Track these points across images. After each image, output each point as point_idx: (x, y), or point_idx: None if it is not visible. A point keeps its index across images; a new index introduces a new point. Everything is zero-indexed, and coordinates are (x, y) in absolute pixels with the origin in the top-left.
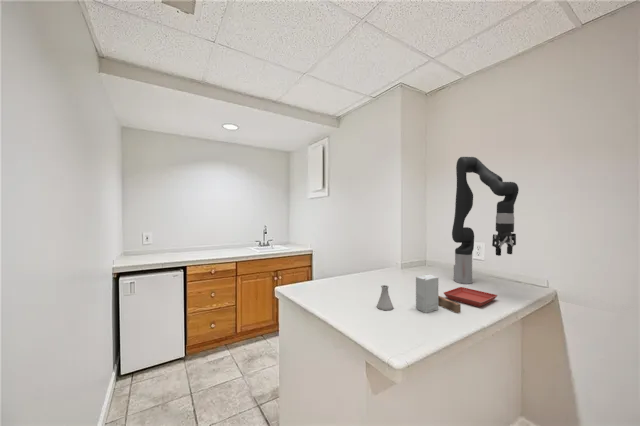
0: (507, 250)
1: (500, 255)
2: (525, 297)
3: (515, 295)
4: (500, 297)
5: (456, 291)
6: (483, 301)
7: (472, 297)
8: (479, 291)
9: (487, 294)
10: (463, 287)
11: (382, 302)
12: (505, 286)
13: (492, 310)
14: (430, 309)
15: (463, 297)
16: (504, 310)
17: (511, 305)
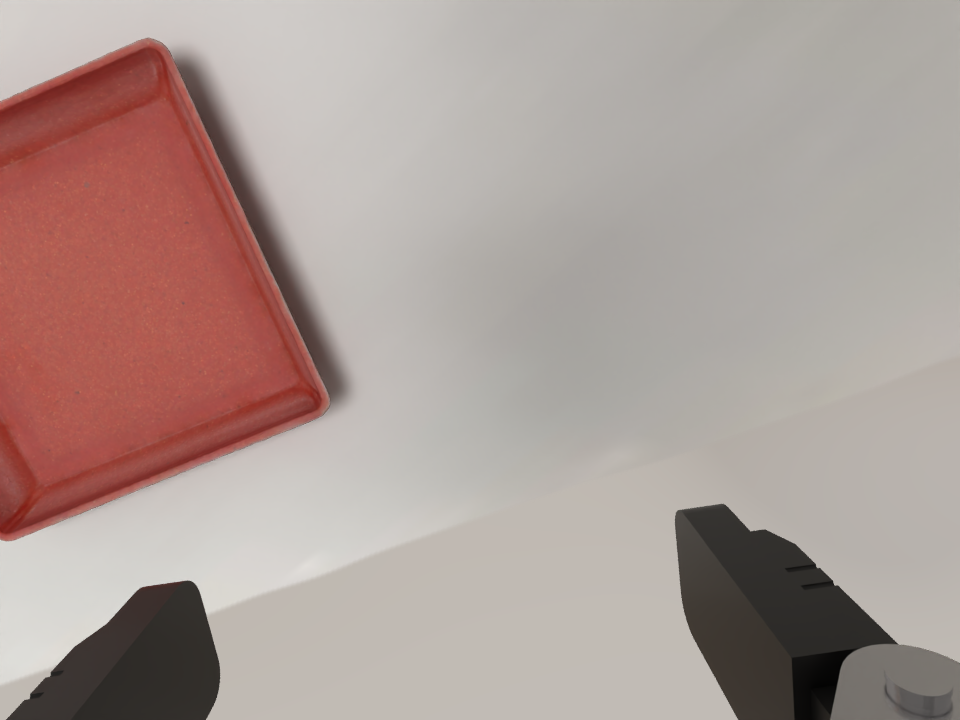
0: (718, 569)
1: (211, 682)
2: (677, 392)
3: (645, 321)
4: (448, 330)
5: (59, 112)
6: (39, 527)
7: (148, 283)
8: (252, 249)
9: (287, 327)
10: (173, 68)
11: None
12: (859, 28)
13: (108, 563)
14: None
15: (54, 260)
16: (203, 585)
17: (357, 517)
